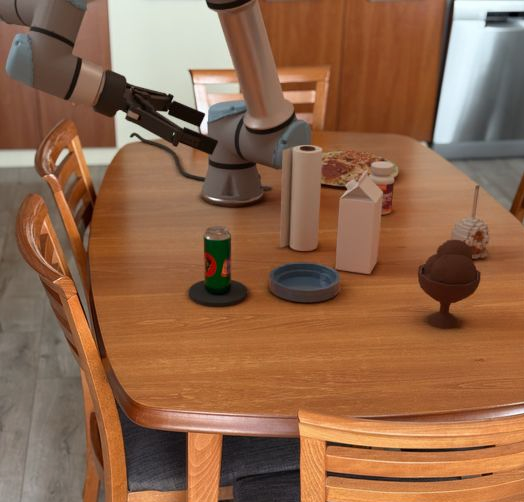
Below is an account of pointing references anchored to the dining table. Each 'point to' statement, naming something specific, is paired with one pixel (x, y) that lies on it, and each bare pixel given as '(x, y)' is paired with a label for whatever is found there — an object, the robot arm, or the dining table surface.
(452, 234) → the candy apple
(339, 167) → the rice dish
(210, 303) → the coaster
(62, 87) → the robot arm
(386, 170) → the pill bottle
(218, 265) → the soda can
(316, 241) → the paper towel roll
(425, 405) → the dining table surface
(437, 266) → the ice cream bowl
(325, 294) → the dish
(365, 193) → the milk carton
